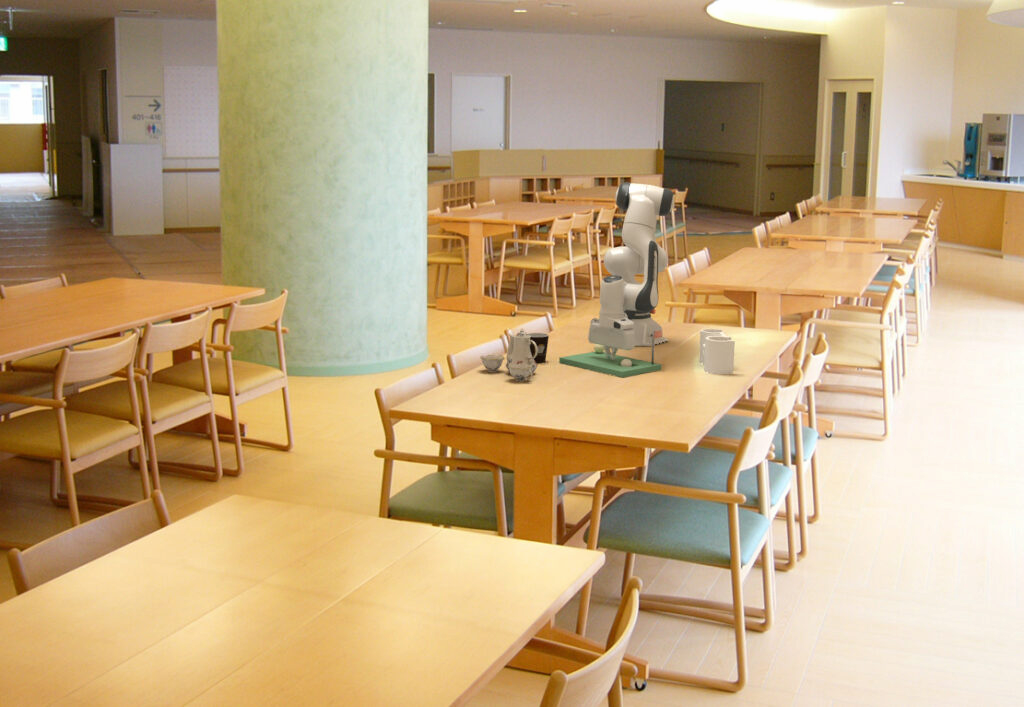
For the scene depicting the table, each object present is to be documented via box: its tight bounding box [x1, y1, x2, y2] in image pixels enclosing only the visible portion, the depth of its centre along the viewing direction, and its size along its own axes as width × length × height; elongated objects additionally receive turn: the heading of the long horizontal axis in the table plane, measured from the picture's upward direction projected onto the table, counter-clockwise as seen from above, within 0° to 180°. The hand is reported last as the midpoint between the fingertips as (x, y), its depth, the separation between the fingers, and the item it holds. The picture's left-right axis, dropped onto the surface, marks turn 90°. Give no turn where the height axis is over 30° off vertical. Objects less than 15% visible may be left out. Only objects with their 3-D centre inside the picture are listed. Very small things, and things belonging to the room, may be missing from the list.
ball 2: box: [621, 359, 632, 367], centre depth 396 cm, size 4×4×4 cm
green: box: [558, 351, 662, 378], centre depth 402 cm, size 20×32×2 cm, turn 41°
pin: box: [650, 330, 663, 365], centre depth 396 cm, size 5×1×12 cm, turn 130°
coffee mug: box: [526, 332, 550, 364], centre depth 409 cm, size 12×9×10 cm
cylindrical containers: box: [698, 328, 735, 375], centre depth 401 cm, size 25×10×12 cm, turn 179°
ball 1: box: [593, 344, 605, 353], centre depth 416 cm, size 4×4×4 cm
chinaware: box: [480, 328, 538, 382], centre depth 386 cm, size 28×17×17 cm, turn 39°
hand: (610, 358), depth 402 cm, fingers closed
